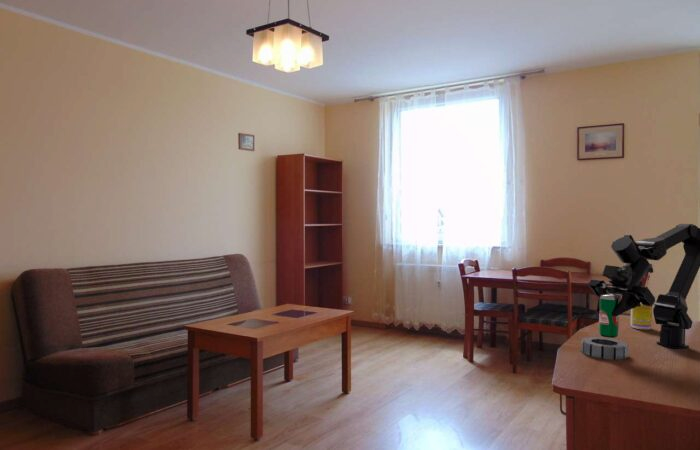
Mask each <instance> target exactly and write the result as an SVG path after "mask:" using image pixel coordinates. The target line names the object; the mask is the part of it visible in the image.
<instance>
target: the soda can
mask: <svg viewBox="0 0 700 450" xmlns="http://www.w3.org/2000/svg"><path fill="white" fill-rule="evenodd" d="M618 296H619V295H616V294H614V293H611V294H601V297H600V305H599V313H598V314H599V315H598V316H599V317H598V334H599V336H600V337H603V338H610V339H616V338H618V336H619V321H620V320H619V319H620V317H619V316H620V315H618V316H616V317H615V316H613V312H614V310H615V308H616V307H617V305H618V303H619V302H620V299H619V297H618Z"/></svg>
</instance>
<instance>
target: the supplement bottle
mask: <svg viewBox="0 0 700 450" xmlns="http://www.w3.org/2000/svg"><path fill="white" fill-rule="evenodd" d="M640 304H641V306H640V307H635V308H633V309H630V327H631V328H633V329H637V330H646V331H647V330H648V331H649V330H651V329H652V321H653V319H652V316H653V313H652V312H653V306H652V307H650V306H645V305H642V303H641V302H640Z"/></svg>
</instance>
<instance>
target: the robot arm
mask: <svg viewBox="0 0 700 450" xmlns="http://www.w3.org/2000/svg"><path fill="white" fill-rule="evenodd" d="M680 243H682V245H683V250H684V257H683V259H682V261H681V264H680V265H679V268H678V270H677V272H676V274H675V276H674V279H673V281H672V283H671V285H670V287H669V290H668V292H666V294H663V293H660V294H658V296H657V299H656V297H655V295H653V293H652V291H651V290H650V289H649V288H648V286H644V285H643V282H642V280H643V278H644V277H645V276H646V274H647V273H650V274H653V273H654V268H653V264H652V263H650V262H649V261H660V260H661V259H662V258H664V257H665V256H666V254H667V253H668V251H667V250H669V249H671V248H673V247H674V246H676V245H678V244H680ZM610 246H611V249H612V251H613V252H614V254H615V255H616V256H617V258H618V259H619V261H620V262H621V263H623V264H625V265H623V266H622V267H621V266H616V265H608V264H605V265H604V268H603V271H602V274H601V275H602V276H603V277H606V278H607V279H609V280H608V283H609V284H611V285H608V284H607V283H606V281H605V280H604V279H603V280H601V279H595V278H592V279H590V280H589V282H588V284H587V286H588V287H589V288H590V290H591V292H592V293H594V295H595V296H596V297H598V300H597V306H596V313H597V314H599V305H600V297H601V294H614V295H617V296H621V299H619V303H618V305H617V307H616V308H615V310H614V312H613V316H615V317H616V316H618V315H619V316H620V315H621V314H623V313H625V312H627V311H629V310H630V311H631V309H633V308H635V307H640V306H641V304H640V302H641V303H642V305H645V306H650V307H652V312H653V313H652V315H653V317H654V322H655V324H656V325H660V330H659V341H656V344H658V345H661V346H664V347H667V348H670V349H680V348H690V345H688V344H686V330H690V329H692V325H693V320H692V319H691V317H690V316H689V314H688V310H689V308H688V304H687V301H686V300H687V296H688V294H689V292H690V290H691V288H692V285H693V283H694V282H695V279H696V277H697V274H698V273H699V270H700V227H698V226H697V225H695V224H694V223H679V224H677V225H675V227H673V228H671V229H669V230H667V231H665V232H663V233H661V234H659V235H657V236H656V237H651V238H649V237H648V238H643V239H639V240H635V239H634V237H633V235H632V234H624V235H623V237H620V238H617V239H616V240H614V241H613V242H612V243H611V245H610ZM653 306H654V307H653Z"/></svg>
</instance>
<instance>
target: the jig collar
mask: <svg viewBox="0 0 700 450" xmlns="http://www.w3.org/2000/svg"><path fill="white" fill-rule="evenodd" d="M580 348H581V351H580V352H581V353H582V354H583V355H586V356H588V357H592V358H594V359H595V358H596V359H600V360H601V359H603V360H610V361H613V360H615V361H618V360H619V361H620V360H626V359H627V358H628V357H629V343H627V342H625V341H623V340H620V339H616V338H608V337H603V336H596V337H595V336H591V337H590V336H587V337H583V338H581V347H580Z"/></svg>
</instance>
